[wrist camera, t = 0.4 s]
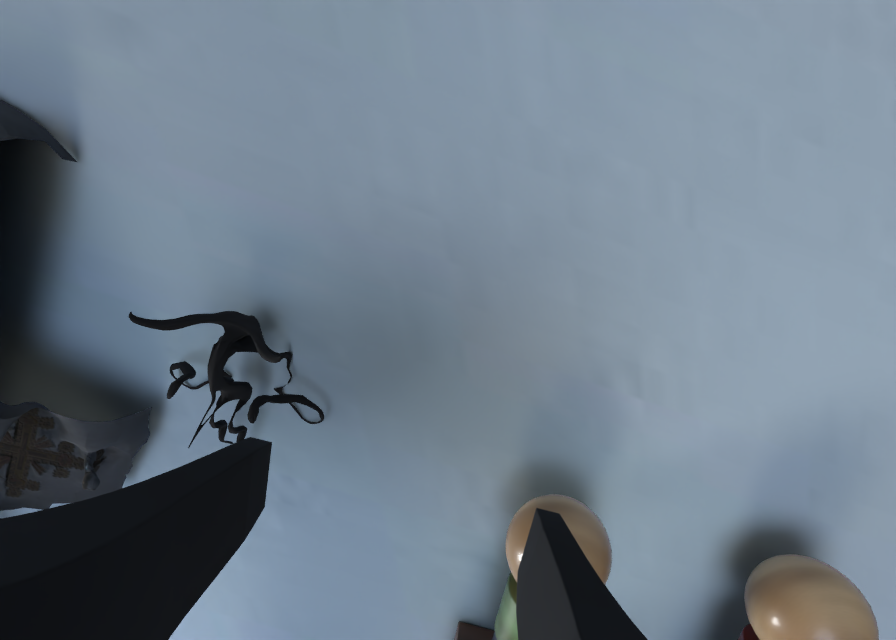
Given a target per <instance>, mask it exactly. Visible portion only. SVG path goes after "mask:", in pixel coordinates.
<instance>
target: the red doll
mask: <svg viewBox="0 0 896 640" xmlns="http://www.w3.org/2000/svg"><path fill="white" fill-rule="evenodd" d="M744 601H745V608H746V612H747V616H748V619H749V622H750V624H748V625H746V626H745V627H744V628H743V630H742V632H741V634H740V636H739V638H738V640H879V633H878V626H877V622H876V618H875V616H874V613H873V611H872V609H871V606H870V605H869V603H868V601H867V600H866V598H865V597H864V595H863V594H862V593H861V591H860V590H859V589H858V588H857V587H856V586H855V584H854V583H852V582H851V581H850V580H849V579H848V578H847V577H846V576H845V575H843V574H842V573H841V572H839V571H838V570H836V569H835V568H833V567H831V566H830V565H828V564H826V563H824V562H822V561H819V560H817V559H814V558H811V557H807V556H802V555H795V554H784V555H778V556H774V557H771V558H768V559H766V560H764V561H763V562H761V563H760V564H758V565H757V566H756V567H755V568H754V570H753V571H752V572H751V574H750V575H749V577H748V580H747V583H746V586H745V594H744Z"/></svg>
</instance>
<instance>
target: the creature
mask: <svg viewBox="0 0 896 640" xmlns="http://www.w3.org/2000/svg"><path fill="white" fill-rule="evenodd" d="M129 318H130V320H131V321H132V322H134V323H136V324H138V325H141V326H145V327H149V328H153V329H158V330H176V329H181V328H184V327H187V326H191V325H195V324H199V323H215V324H219V325H222V326H223V327H224V330H225V333H224V335H223V336H221V337H220V338H219V341H218V342H217V343H216V344H214V345H213V348H212V352H211V355H210V359H209V363H208V379H209V381H206V382H204V383H202V384H200V385H199V386H197V387H190V386H187V385H185V384H184V383H183V382H184V381H185V380H188V379H192V378H194V377H195V375H196V372H195V370H194V368H193V367H192V366H191V365H190V364H188V363H187V362H185V361H184V362H179V363H175V364H172V365H171V366H170V374H171V375H172V376H173V377H174V378H175V379H176V380H175V381H174V382H172V383H171V385H170V387H169V389H168V393H167V399H170V398H171V397H173V396H174V395H175V393H176V392H177V390H178V389H179V387H180V386H181V384H182V385H184V386H186V387H188V388H190V389H199V388H200V387H202V386H204V385H206V384H208V383H209V386H210V391H211V394H212V402H211V404H210V406H209V408H208V410H207V412H206V414H207V413H208V411H209V409H210V408H211V406H212V405H213V403H214V401H215V398H216V391H221V396H220V397H219V399H218V401H217V403H216V408H215V410H214V412H213V414H212V415H211V416H210V417H211V419H210V422H209V423H210V425H211V427H212V428H219V431H218V432H219V440H220V441H221V442H225V443H230V444H233V442H231V441H224V437H225V434H226V430H227V422H226V421H225V420H220V421H218V422H215V423H214V413H215V412H216V411H217V410H218V409H219V408H220V407H221V406H222V405H223V404H224V403H226V402H228V401H231V400H235V399H240V400H239V402H238V404H237V406H236V409H235V411H234V413H233V416H232V418H231V420H230V423H229V425H228V430H229V432H230V433H233V434H237V433H238V436H237V442H239V441H242V440H244V438H245V436H246V433H247V428H246V427H245V426H244V425H243V426H238V427H233V422H232V421H233V418H234V416H235V414H236V412H237V411H239V410H240V408H241V407H242V406H243V405H245V404H246V403H247V401H248V400H249V399H250V397H251V394H252V387H251V385H250V384H249V383H248V382H234V380H233V378H231V377H232V376H230V375H229V374H227V373H226V372H225V371H224V370H223V369H224V365H225V364H226V362H227V360H228V358H229V357H230V356H232V355H233V354H234V353H235V352H258V353H259V354H260V356H261V357H262V358H264V359H265V360H267V361H269V362H272V363H277V362H280V361H281V359H283V358H286V359H287V369H288V371H289V373H290V376H291V377H292V374H291V372H290V369H289V368H290V362H291V357H292V354H291V352H284V353H276V352H274V351H272V350H271V349H270V348H268V346H267V345H266V344H265V341H264V338H263V335H262V332H261V328H260V324H259V322H258V320H257V319H256V318H255V317H254V316H248V315H244V314H242V313H239V312H234V311H224V312H219V313H215V314H194V315H188V316H184V317H180V318H176V319H169V320H150V319H144V318H140V317H136V316H135V315H133V314H132V312H130V314H129ZM179 368H180V370H181V371H182V373H183V374H184V375H182V376H181V377H179V378H178V379H177V378H176V377H175V376H174V374H173V371H172V370H175V369H179ZM290 380H291V378H290ZM290 380H289V381H288V383H289V382H290ZM288 383H287V384H288ZM283 387H284V386H283ZM283 387H281V388H276V389H275V388H274V390H275V391H276V392H277V393H279V394H280V395H273V396H269V395H262V396H258V397H256V398H255V399H254V400H253V402H252V404H251V405H250V408H249V411H248V420H249V422H250V423H254V422H255V421H256V418H257V416H258V413H259V407H260V406H262V405H264V404H265V403H267V402H270V403H289V404H290V405H291V406H292V407H293V409H294V410H295V411H296V412H297V413H298V415H299V416H300V417H301V418H302V419H303V420H304V421H306V422H308V423H310V424H317V423H320V422H322V421H323V420H324V414H323V411H322V410H321V409H320V408H319V407H318V406H317V405H315V404H314V403H313V402H311V401H310V400H309V399H307V398H306V397H304V396H303V395H293V394H283V393H282V388H283ZM292 402H297V403H300V404H304V405H307V406H309V407H311V408H313V409H314V410H316V411H317V412H318V413H319V415H320V418H321V420H320V421H319V422H309V421H307V420H305V419H304V418H303V417H302V416H301V414H300V413H299V411H298V410H297V408H296V407H295V406H294V405H293V404H292ZM206 414H205V415H204V417H203V419H202V421H201V423H200V425H199V427H198V429H197V431H196V433H195V435H194V437H193V439H192V441H191V443H190V445H191V444H192V442H193V440H194V438H195V437H196V435H197V434H198V432H199V431H200V430H201V428H202V427H203V426H204V424H205V423H206V422H207V421H208V420H209V418H210V417H209V418H208V419H207V420H206V422H205V423H204V424H203V425H201V424H202V422H203V420H204V418H205V416H206ZM190 445H189V447H190ZM189 447H188V448H189Z"/></svg>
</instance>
